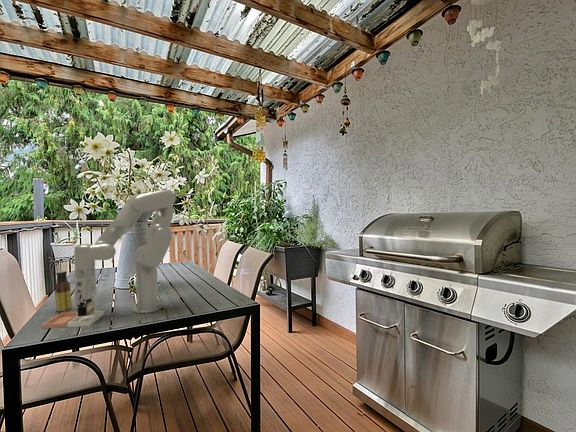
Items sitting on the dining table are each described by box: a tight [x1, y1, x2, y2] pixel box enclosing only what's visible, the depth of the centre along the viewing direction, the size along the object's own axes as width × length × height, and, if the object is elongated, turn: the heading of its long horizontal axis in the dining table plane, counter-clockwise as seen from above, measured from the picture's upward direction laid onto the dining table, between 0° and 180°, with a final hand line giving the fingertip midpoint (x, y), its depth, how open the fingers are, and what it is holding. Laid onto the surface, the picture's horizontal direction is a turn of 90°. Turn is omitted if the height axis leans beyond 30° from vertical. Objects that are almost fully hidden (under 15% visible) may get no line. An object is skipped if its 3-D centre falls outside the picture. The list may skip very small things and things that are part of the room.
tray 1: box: [41, 311, 77, 329], centre depth 138 cm, size 8×14×2 cm, turn 8°
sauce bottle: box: [54, 270, 73, 313], centre depth 152 cm, size 7×6×20 cm
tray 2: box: [66, 310, 105, 328], centre depth 139 cm, size 8×14×2 cm, turn 8°
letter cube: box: [75, 300, 95, 316], centre depth 139 cm, size 5×5×5 cm
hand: (85, 313), depth 139 cm, fingers closed on letter cube, 5 cm apart
